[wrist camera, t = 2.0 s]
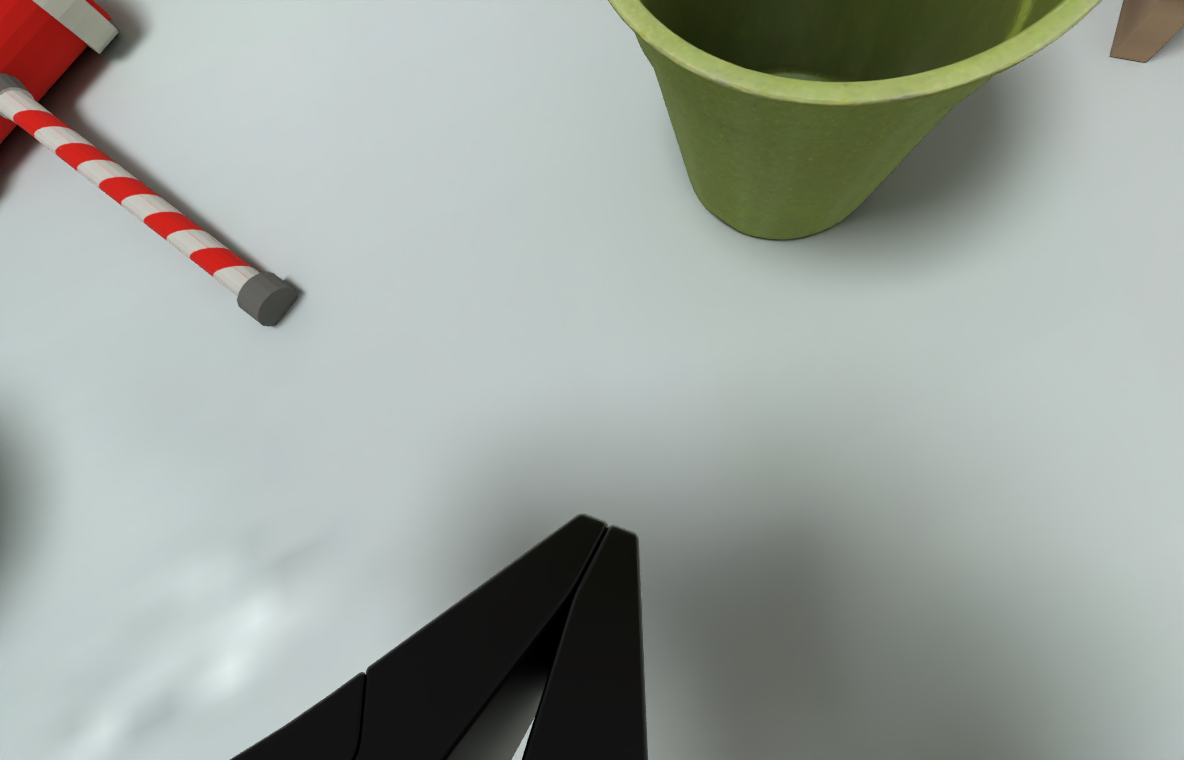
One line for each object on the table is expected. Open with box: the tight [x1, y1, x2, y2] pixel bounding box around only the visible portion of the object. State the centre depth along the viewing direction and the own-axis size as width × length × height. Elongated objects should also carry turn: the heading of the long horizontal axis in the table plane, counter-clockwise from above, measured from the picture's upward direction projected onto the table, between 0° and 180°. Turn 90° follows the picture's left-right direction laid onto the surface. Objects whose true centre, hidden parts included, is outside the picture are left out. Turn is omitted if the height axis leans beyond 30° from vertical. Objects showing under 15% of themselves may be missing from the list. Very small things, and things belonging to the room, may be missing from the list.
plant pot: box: [608, 0, 1102, 239], centre depth 18 cm, size 12×12×11 cm
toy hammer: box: [0, 0, 298, 326], centre depth 26 cm, size 23×12×6 cm, turn 53°
